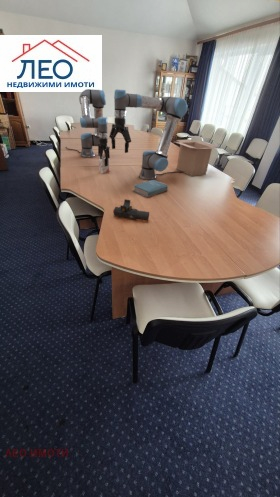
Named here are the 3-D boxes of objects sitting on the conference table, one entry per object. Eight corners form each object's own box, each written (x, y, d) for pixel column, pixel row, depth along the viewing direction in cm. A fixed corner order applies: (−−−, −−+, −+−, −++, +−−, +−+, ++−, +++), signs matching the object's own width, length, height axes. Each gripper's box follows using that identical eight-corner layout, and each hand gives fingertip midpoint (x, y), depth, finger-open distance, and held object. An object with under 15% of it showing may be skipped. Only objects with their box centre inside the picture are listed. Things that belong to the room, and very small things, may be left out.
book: (152, 185, 190) (153, 179, 187) (167, 191, 181) (167, 185, 178) (133, 191, 176) (133, 185, 173) (147, 198, 167) (148, 191, 164)
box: (218, 176, 220) (226, 147, 204) (190, 180, 206) (196, 149, 190) (191, 164, 250) (196, 137, 234) (164, 166, 236) (168, 138, 220)
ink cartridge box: (105, 170, 215) (105, 154, 206) (109, 171, 212) (109, 155, 203) (99, 172, 209) (98, 155, 200) (102, 173, 207) (101, 157, 198)
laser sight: (146, 224, 135) (147, 209, 129) (111, 219, 138) (111, 204, 132) (149, 217, 143) (150, 203, 137) (115, 212, 146) (115, 198, 140)
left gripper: (93, 136, 195) (94, 163, 209) (107, 140, 186) (107, 168, 199) (99, 135, 200) (100, 162, 214) (113, 139, 190) (113, 166, 204)
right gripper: (103, 115, 154) (104, 147, 167) (129, 120, 141) (128, 155, 154) (111, 114, 159) (112, 146, 172) (137, 119, 146) (135, 153, 159)
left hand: (104, 164), depth 207 cm, fingers open, 6 cm apart
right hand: (119, 150), depth 163 cm, fingers open, 13 cm apart
